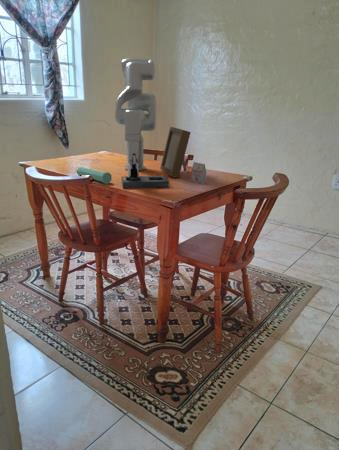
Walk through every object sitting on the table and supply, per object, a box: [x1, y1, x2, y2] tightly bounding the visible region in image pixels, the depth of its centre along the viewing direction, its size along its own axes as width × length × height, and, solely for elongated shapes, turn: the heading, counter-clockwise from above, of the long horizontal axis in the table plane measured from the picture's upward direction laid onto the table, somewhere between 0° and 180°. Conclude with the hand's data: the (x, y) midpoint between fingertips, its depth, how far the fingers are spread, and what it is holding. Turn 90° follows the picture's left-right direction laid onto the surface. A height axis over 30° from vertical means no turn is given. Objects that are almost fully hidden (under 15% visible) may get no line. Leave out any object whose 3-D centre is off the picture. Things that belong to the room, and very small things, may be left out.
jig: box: [121, 175, 170, 189], centre depth 173 cm, size 12×22×3 cm, turn 100°
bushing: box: [127, 163, 140, 181], centre depth 170 cm, size 5×5×8 cm
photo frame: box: [160, 126, 191, 179], centre depth 197 cm, size 15×22×25 cm
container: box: [76, 166, 113, 185], centre depth 181 cm, size 6×6×25 cm
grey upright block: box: [190, 161, 207, 185], centre depth 180 cm, size 4×7×10 cm, turn 48°
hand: (133, 175), depth 171 cm, fingers closed on bushing, 5 cm apart
